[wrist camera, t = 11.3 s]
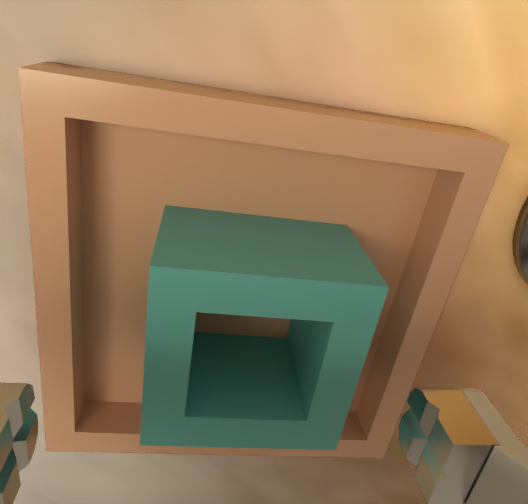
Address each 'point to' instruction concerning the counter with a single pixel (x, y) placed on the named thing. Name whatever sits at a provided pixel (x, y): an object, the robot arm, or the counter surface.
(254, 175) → the tray
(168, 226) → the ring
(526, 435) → the counter surface
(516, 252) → the grey peg stand
